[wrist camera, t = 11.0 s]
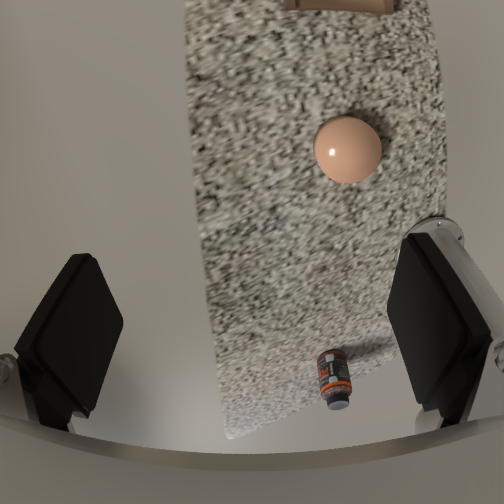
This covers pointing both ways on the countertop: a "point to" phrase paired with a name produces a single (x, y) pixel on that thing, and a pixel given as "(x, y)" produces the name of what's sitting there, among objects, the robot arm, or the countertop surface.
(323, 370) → the supplement bottle
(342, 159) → the peach smooth rounded part
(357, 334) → the countertop surface
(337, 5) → the brown flat square block
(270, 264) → the countertop surface
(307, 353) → the countertop surface
